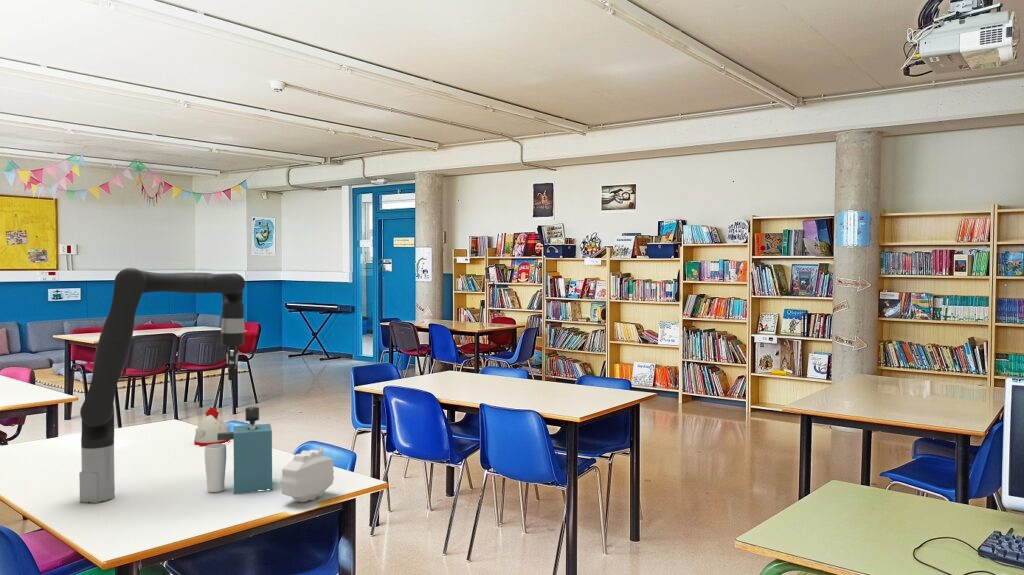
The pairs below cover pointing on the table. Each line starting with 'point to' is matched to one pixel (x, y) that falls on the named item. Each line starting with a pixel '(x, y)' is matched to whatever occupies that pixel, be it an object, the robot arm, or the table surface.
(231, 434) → the dispenser
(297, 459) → the white stepped block
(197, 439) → the kitchen timer
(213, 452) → the drinking glass
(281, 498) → the table surface
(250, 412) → the plunger
